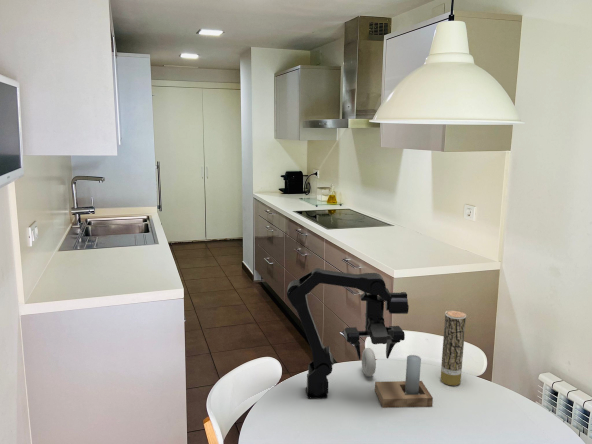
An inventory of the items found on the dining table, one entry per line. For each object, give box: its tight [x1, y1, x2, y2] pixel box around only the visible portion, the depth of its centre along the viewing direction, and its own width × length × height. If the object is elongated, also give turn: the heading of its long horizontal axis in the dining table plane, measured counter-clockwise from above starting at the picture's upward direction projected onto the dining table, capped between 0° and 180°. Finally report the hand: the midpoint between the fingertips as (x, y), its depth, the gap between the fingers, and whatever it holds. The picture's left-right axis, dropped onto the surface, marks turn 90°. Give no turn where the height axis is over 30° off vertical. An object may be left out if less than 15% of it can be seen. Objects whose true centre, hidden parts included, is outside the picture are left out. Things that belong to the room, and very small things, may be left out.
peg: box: [404, 354, 422, 395], centre depth 161 cm, size 4×4×14 cm
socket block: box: [374, 380, 434, 409], centre depth 161 cm, size 16×11×3 cm
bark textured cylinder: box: [440, 310, 467, 387], centre depth 171 cm, size 7×7×25 cm
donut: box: [361, 347, 377, 377], centre depth 176 cm, size 10×4×10 cm, turn 6°
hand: (373, 358), depth 161 cm, fingers open, 9 cm apart
